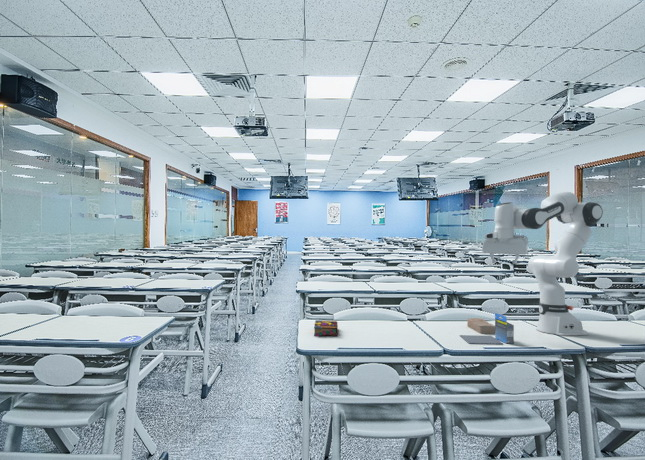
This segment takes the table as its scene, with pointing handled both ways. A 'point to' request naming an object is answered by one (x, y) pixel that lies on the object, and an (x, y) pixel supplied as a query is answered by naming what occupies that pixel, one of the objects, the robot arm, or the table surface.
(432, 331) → the table surface
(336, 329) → the decorated brown box
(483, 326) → the brick
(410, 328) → the table surface
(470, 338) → the pad
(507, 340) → the label tape cartridge
